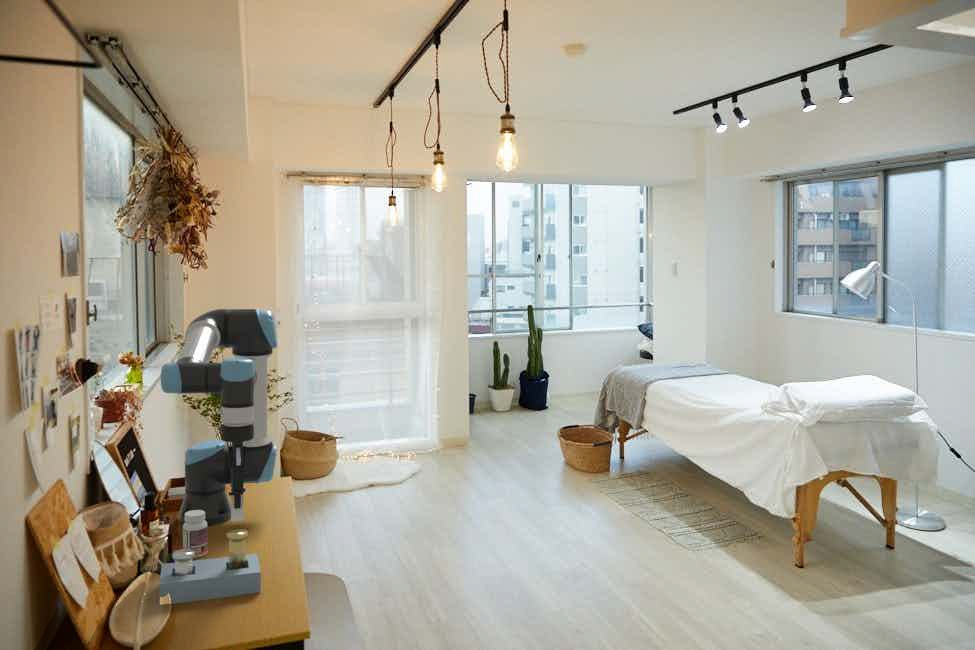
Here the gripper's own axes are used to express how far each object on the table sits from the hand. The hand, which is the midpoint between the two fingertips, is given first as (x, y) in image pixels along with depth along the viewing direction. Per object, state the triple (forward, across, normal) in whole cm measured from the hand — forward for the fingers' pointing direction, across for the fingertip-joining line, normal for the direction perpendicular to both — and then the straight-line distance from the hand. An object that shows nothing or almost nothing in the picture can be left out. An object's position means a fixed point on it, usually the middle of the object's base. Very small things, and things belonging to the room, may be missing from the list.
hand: (237, 520), depth 175 cm
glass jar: (+12, 0, 0) cm, 12 cm away
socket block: (+16, 0, -6) cm, 17 cm away
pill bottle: (+16, -24, -10) cm, 31 cm away
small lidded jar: (+15, 0, -12) cm, 19 cm away
